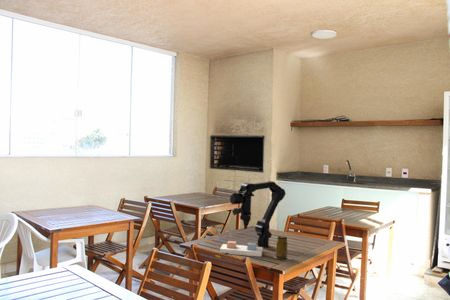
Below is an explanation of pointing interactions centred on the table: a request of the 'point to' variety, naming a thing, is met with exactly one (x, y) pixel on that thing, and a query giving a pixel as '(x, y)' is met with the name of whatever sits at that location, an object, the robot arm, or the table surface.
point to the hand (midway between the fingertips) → (245, 228)
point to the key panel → (241, 250)
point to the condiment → (282, 248)
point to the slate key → (251, 246)
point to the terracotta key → (231, 244)
